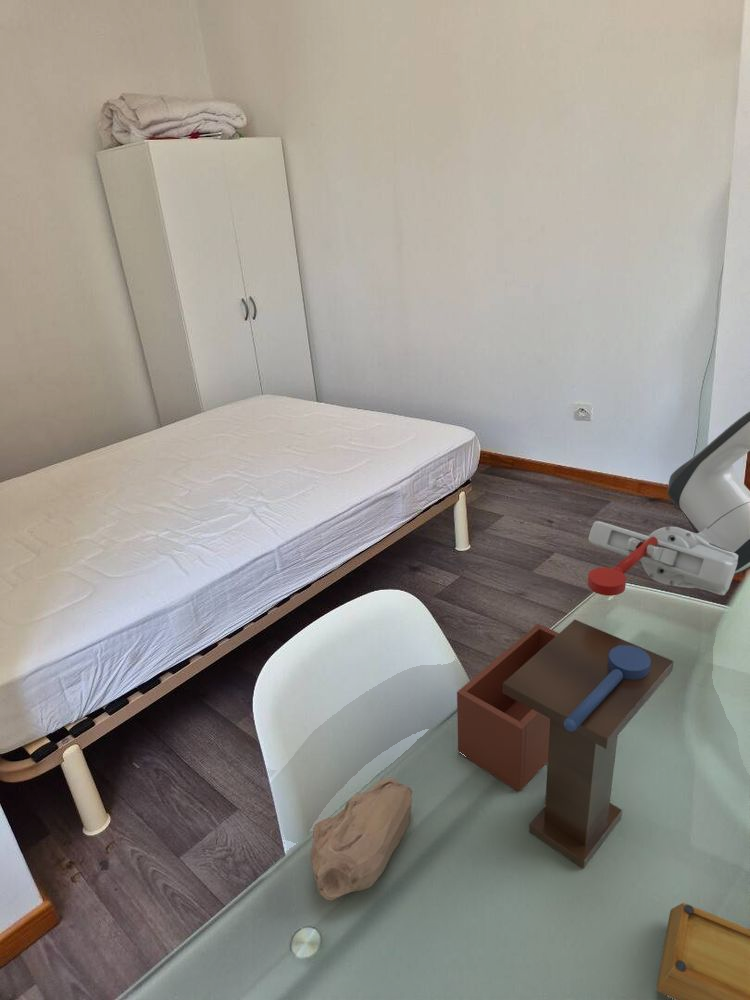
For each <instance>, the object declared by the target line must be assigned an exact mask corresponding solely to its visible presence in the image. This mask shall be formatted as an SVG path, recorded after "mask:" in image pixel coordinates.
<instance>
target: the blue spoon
mask: <svg viewBox="0 0 750 1000" xmlns="http://www.w3.org/2000/svg"><path fill="white" fill-rule="evenodd" d="M650 664H651V659H650V657H649V655H648V654H647V653H646V652H645V651H643V650H642V649H640V648H638V647H634V646H630V645H621V646H616V647H614V648H613V649H611V651H610V652H609V658H608V667H609V669H610V670H611V672H610V673H609V674H608V675H607V676H606V678H605V679H604V680H603V681H602V682H601V683H600V684H599V685H598V686H597V687H596V688H595V689H594V690H593V691H592V692H591V693H590V694H589V695H588V696H587V697H586V698H585V700H584V701H583V702H582V703H581V704H580V705H579V706H578V707H577V708H576V709H575V710H574V711H573V712H572V713H571V714H570V715H569V716H568V717H567V718H566V719H565V721H564V727H565V729H566V730H568V731H575V730H576V729H577V728H578V727H579V726H580V725H581V723H582V722H583V721H584V720H585V719H586V718H587V717H588V716H589V715H590V714H591V713H592V712H593V710H594V709H595V708H596V707H597V706H598V705H599V704H600V703H601V702H602V701H603V700H604V699H605V697H606V696H607V695H608V694H609V693H610V692H611V691H612V690H613V689H614V688H615V687H616V686H617V684H618V683H619V682H620V681H621V680H622V679H623V678H624V679H628V680H638V679H642V678H644V677H646V676H647V675H648V674H649V671H650Z"/></svg>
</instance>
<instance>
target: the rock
mask: <svg viewBox="0 0 750 1000" xmlns="http://www.w3.org/2000/svg"><path fill="white" fill-rule="evenodd" d="M412 805H413V790H412V789H411V786H407V785H405V784H403V783H400V782H399V781H398V780H396V779H395V778H393V777H385V778H383V779H380V780H379V781H378V782H377V783H375V785H374V786H373V787H371V788H370V789H368V790H366V791H363V792H359V793H357V794H355V795H352V796H351V797H350V798H349V799H348V800H347V802H346V804H345V807H344V809H342V810H341V811H340V812H337V814H335V815H334V816H332V817H329V818H325V819H321V820H320V821H318V822H317V823H315V824H314V825H313V827H312V844H311V849H310V854H309V859H310V861H311V866H312V871H313V878H314V880H315V882H316V886H317V891H318V893H319V894H320V896H321V897H323V898H324V899H325V900H327V901H334V900H336V899H338V898H341V897H343V896H345V895H347V894H350V893H353V892H359V891H363V890H367V889H369V888H371V887H372V886H373V885H374V884H375V883H376V882H377V880H378V879H379V878H380V876H381V875H382V874H383V872H384V871H385V870H386V868H387V865H388V863H389V861H390V859H391V857H392V854H393V853H394V851H396V848H398V846H399V844H400V842H401V840H402V838H403V837H404V835H405V833H406V831H407V828H408V826H409V823H410V818H411V812H412Z"/></svg>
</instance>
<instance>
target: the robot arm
mask: <svg viewBox="0 0 750 1000" xmlns="http://www.w3.org/2000/svg"><path fill="white" fill-rule="evenodd" d="M749 452H750V411H747V412H746V413H744V414H743V415H742V416H740V417H739V418H738V419H737V420H736V421H735V422H733V423H732V424H730V426H729V427H727V428H726V429H725V430H724V431H723V432H722V433H720V434H719V435H718V436H717V437H716V438H714V439H713V440H712V441H711V442H710V443H709V444H707V445H706V446H705V447H704V448H703V449H702V450H701V451H700V452H698V453H697V454H696V455H694V456H693V457H692V458H690V459H689V460H687V461H686V462H684V463H682V464H681V465H680V466H678V468H676V469H675V471H674V472H672V474H671V475H670V476H669V480H668V485H667V497H668V498H669V500H670V501H671V502H672V503H673V504H674V505H675V506H676V507H677V508H678V509H679V510H680V512H682V513H683V514H684V515H685V516H686V517H687V519H688V520H689V521H690V522H691V524H692V525H693V526H694V528H695V529H696V531H698V532H693V531H691V530H688V529H685V528H681V527H679V526H663V527H660V528H658V529H655V530H653V531H652V532H651V533H650V534H649V535H646V534H643V533H640V532H637V531H633V530H630V529H627V528H623V527H621V526H617V525H614V524H611V523H607V522H605V521H601V520H595V521H594V522H593V523H592V526H591V528H590V531H589V535H588V542H589V544H591V545H594V546H596V547H599V548H602V549H605V550H608V551H611V552H614V553H616V554H619V555H622V556H626V557H627V556H628V555H630V554H631V553H632V552H633V551H634V550H635V549H637V548H638V547H639V546H640V545H641V544H642V543H644V542H645V541H646V540H647V539H648V538H650V537H655V538H657V540H658V544H657V545H656V546H653V545H648V546H647V551H646V553H645V556H644V557H643V558H641V559H640V560H639V561H640V563H641V566H642V568H643V570H644V572H645V574H647V576H648V577H650V578H651V579H652V580H654V581H655V582H657V583H659V584H662V585H666V586H673V587H678V588H688V589H695V590H700V591H703V592H706V593H711V594H714V595H719V596H725V595H726V594H727V592H728V591H729V589H730V588H731V587H730V586H731V584H732V582H733V578H734V576H736V575H740V574H742V573H744V572H747V571H748V570H750V489H749V488H748V487H747V486H746V484H744V482H743V481H741V479H740V478H739V476H738V475H737V473H736V471H735V469H734V465H733V464H735V463H736V462H737V461H739V460H740V459H741V458H743V457H744V456H745V455H746V454H747V453H749Z"/></svg>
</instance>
